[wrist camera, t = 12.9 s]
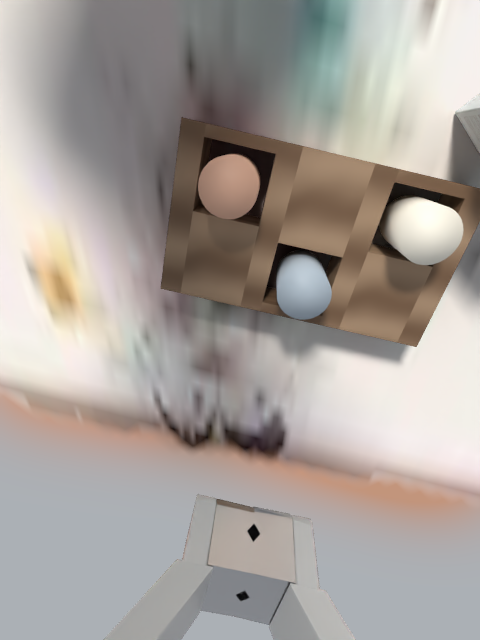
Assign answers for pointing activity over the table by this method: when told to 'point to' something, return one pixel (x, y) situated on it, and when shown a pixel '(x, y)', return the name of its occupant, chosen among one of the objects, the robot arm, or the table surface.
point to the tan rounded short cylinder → (229, 185)
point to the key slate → (302, 285)
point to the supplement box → (471, 120)
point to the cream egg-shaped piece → (421, 229)
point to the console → (309, 236)
